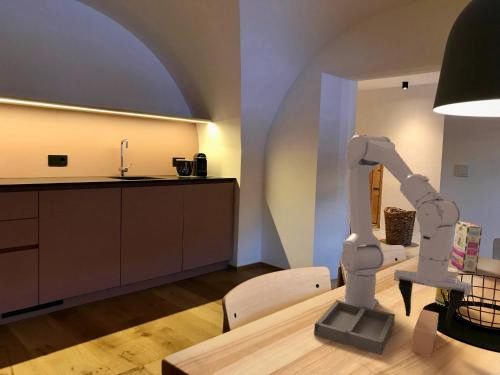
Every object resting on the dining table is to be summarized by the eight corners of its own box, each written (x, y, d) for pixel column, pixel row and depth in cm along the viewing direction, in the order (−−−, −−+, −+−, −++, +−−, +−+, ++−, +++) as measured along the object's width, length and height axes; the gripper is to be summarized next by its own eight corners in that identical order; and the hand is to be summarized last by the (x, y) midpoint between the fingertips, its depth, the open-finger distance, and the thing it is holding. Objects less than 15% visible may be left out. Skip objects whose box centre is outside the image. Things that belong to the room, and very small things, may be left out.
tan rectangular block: (419, 330, 88) (421, 309, 88) (436, 334, 86) (438, 313, 86) (411, 352, 78) (414, 329, 77) (430, 358, 76) (433, 334, 76)
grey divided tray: (335, 309, 97) (336, 300, 96) (394, 324, 90) (395, 314, 90) (313, 334, 83) (314, 323, 82) (381, 354, 76) (382, 342, 76)
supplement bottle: (447, 309, 101) (451, 273, 100) (430, 301, 105) (434, 266, 104) (461, 306, 103) (465, 271, 102) (444, 299, 108) (448, 265, 107)
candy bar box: (477, 273, 134) (483, 227, 132) (462, 272, 134) (467, 226, 133) (464, 264, 145) (469, 221, 143) (450, 262, 145) (455, 220, 144)
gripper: (394, 254, 80) (388, 317, 81) (474, 268, 73) (466, 336, 74) (399, 248, 86) (393, 306, 88) (473, 260, 79) (466, 323, 81)
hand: (427, 319), depth 81 cm, fingers open, 7 cm apart
